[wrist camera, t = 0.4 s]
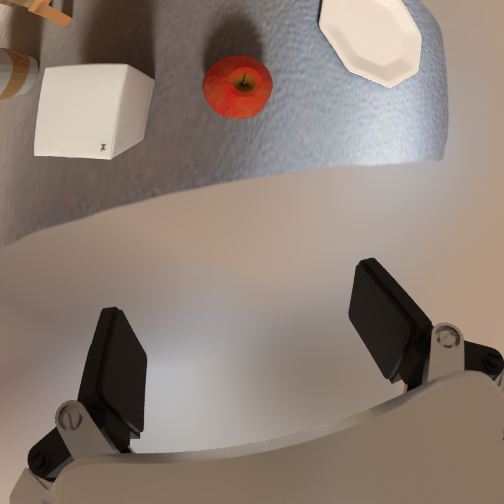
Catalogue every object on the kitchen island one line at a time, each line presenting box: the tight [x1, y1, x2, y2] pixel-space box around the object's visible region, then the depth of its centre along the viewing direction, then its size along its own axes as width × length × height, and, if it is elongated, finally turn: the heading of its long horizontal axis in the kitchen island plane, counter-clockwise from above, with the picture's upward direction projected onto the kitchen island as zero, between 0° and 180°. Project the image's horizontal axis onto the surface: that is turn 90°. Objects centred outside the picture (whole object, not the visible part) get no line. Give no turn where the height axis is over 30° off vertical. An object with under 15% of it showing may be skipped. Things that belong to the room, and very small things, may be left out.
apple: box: [202, 55, 273, 119], centre depth 27 cm, size 8×8×11 cm
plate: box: [319, 0, 422, 87], centre depth 28 cm, size 20×20×2 cm
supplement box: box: [34, 64, 155, 159], centre depth 23 cm, size 9×9×15 cm
